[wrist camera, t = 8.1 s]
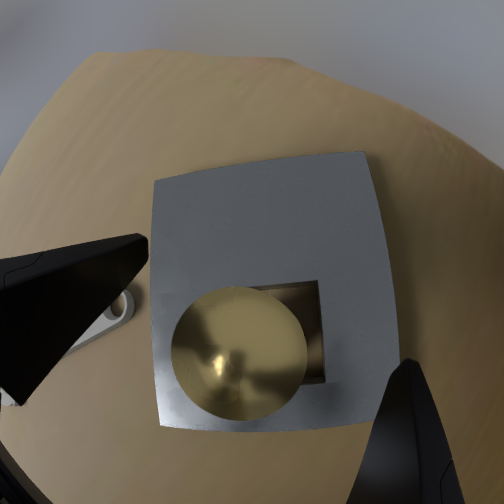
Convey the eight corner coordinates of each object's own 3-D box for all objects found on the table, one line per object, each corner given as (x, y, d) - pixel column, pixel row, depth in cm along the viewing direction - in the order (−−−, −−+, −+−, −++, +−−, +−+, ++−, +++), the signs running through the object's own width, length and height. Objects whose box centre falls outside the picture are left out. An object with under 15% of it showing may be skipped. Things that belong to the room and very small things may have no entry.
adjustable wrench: (132, 281, 19) (118, 277, 18) (161, 364, 18) (148, 368, 16) (-7, 358, 20) (-17, 357, 19) (7, 408, 19) (-3, 410, 17)
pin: (313, 349, 16) (331, 387, 6) (259, 374, 16) (206, 436, 6) (286, 296, 17) (267, 262, 7) (233, 323, 17) (151, 320, 7)
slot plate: (389, 405, 14) (399, 414, 12) (173, 416, 16) (160, 425, 14) (359, 166, 18) (363, 151, 16) (166, 192, 20) (154, 180, 18)
